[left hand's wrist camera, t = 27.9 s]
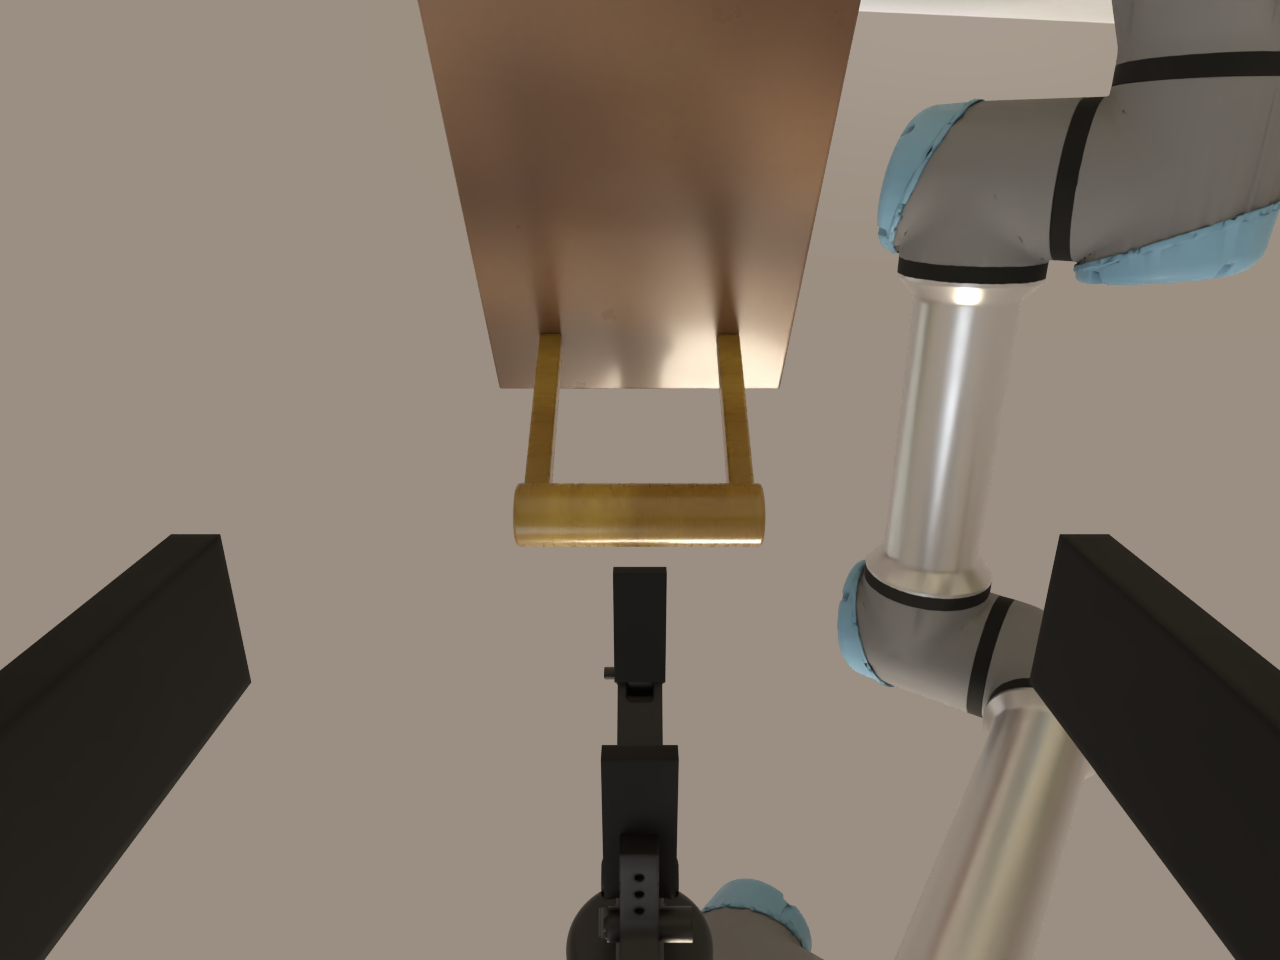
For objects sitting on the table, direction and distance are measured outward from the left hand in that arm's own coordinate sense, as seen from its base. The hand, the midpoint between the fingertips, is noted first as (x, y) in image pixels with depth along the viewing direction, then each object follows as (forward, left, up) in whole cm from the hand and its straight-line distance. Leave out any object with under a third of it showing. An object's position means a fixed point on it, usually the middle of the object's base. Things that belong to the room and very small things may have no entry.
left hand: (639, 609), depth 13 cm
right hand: (+18, +4, +13) cm, 22 cm away
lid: (+13, +3, -6) cm, 14 cm away
